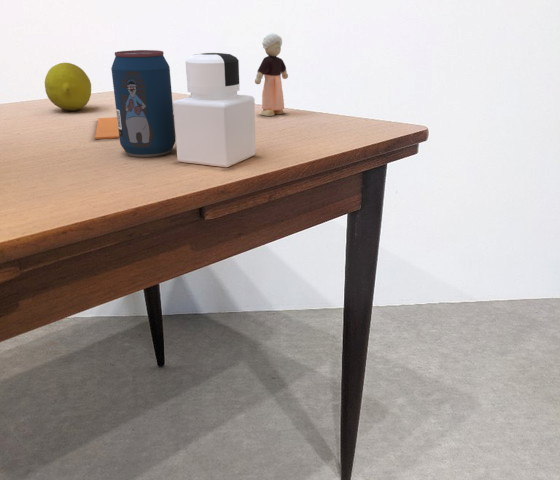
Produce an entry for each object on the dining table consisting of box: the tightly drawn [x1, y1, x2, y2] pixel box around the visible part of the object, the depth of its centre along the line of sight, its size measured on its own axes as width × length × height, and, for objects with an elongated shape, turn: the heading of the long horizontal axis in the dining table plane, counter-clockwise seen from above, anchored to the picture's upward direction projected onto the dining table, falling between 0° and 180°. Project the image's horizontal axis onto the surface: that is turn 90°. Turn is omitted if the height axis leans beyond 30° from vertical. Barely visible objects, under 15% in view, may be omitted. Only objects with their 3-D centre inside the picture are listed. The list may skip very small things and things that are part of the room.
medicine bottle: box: [172, 52, 257, 168], centre depth 71 cm, size 7×7×12 cm
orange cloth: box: [94, 116, 175, 140], centre depth 94 cm, size 22×16×1 cm
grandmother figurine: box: [254, 32, 289, 117], centre depth 100 cm, size 8×4×13 cm, turn 151°
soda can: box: [110, 49, 176, 158], centre depth 75 cm, size 7×7×12 cm
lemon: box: [44, 62, 92, 112], centre depth 107 cm, size 11×8×8 cm
